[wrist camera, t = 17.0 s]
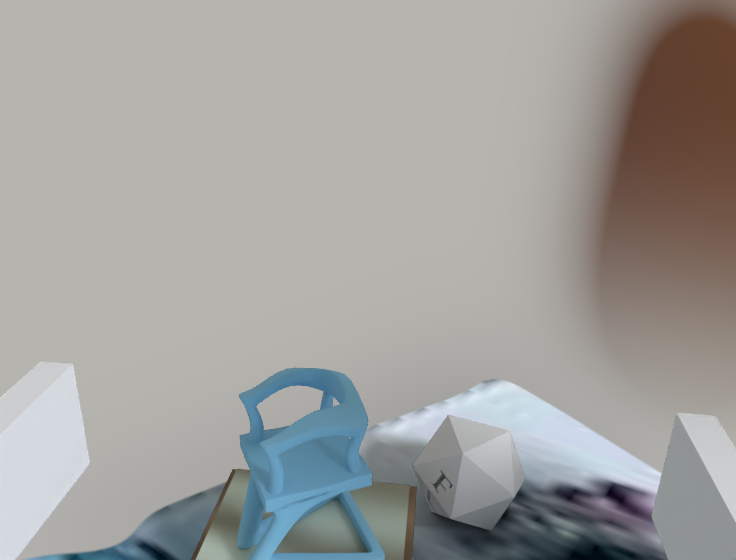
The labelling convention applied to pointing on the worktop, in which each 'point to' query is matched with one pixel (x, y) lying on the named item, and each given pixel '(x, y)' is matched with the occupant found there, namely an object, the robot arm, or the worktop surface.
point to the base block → (317, 523)
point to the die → (469, 472)
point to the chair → (304, 465)
